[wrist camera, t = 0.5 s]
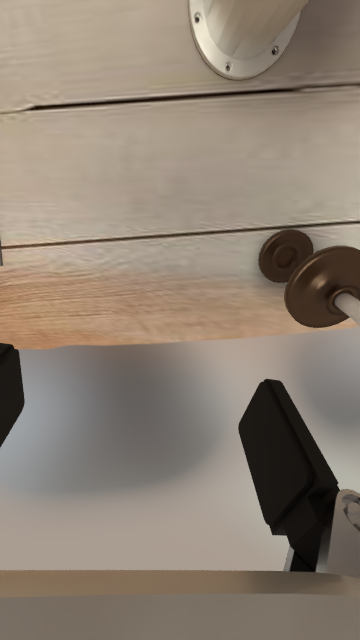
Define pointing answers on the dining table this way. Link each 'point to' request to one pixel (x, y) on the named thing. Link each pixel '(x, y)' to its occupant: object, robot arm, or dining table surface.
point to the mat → (0, 256)
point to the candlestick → (313, 278)
